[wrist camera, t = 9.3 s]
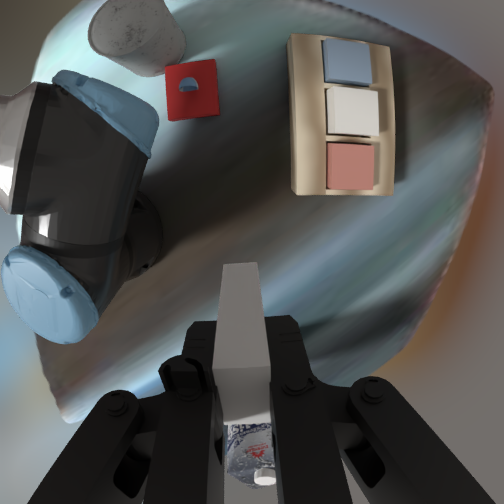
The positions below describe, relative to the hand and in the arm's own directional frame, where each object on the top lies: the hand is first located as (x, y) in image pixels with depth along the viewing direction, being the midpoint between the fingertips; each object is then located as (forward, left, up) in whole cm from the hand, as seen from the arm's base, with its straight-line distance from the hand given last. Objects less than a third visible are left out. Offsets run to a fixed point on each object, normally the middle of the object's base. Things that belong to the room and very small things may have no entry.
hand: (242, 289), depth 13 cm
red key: (+14, +4, -26) cm, 29 cm away
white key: (+14, +11, -24) cm, 30 cm away
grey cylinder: (-12, +23, -30) cm, 39 cm away
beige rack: (+14, +11, -29) cm, 34 cm away
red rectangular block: (-6, +15, -30) cm, 34 cm away
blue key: (+14, +18, -26) cm, 34 cm away
